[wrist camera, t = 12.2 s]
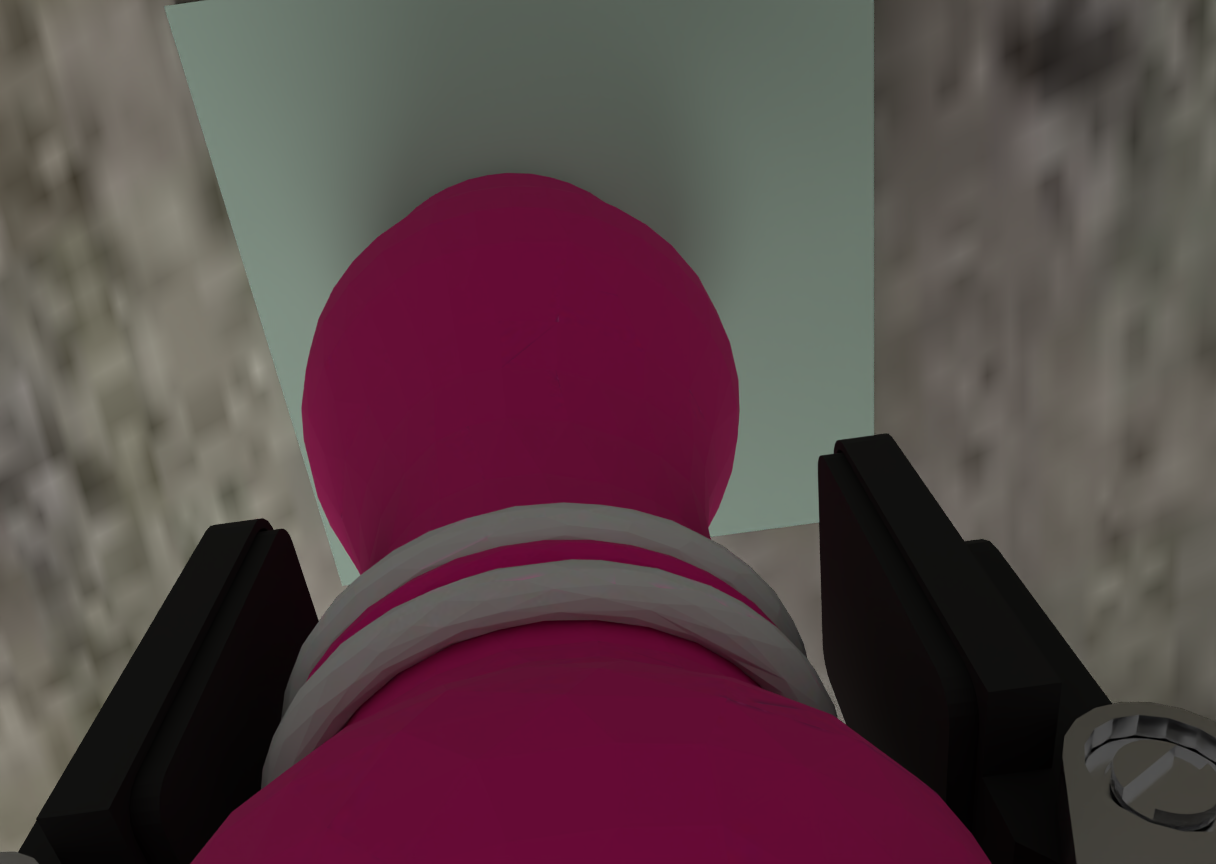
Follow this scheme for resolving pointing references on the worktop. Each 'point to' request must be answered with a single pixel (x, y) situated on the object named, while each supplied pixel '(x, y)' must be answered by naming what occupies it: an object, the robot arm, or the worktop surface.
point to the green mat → (573, 172)
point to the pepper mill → (549, 576)
